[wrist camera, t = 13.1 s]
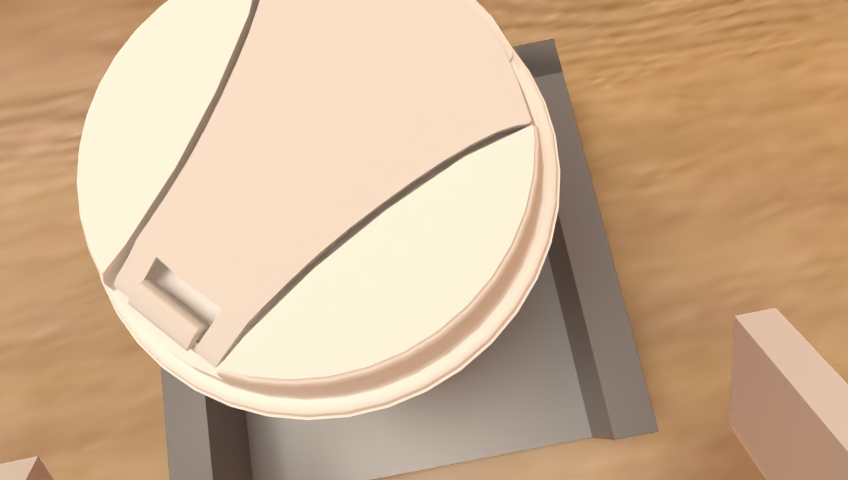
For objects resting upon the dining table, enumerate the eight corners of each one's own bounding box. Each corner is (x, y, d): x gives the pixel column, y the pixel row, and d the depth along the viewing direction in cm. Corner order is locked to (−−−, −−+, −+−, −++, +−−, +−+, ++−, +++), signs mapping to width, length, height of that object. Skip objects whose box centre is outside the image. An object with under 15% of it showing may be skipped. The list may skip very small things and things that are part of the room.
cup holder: (195, 171, 26) (141, 120, 22) (539, 103, 26) (553, 38, 22) (229, 505, 23) (173, 523, 19) (622, 430, 23) (658, 431, 18)
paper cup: (422, 471, 22) (346, 548, 8) (242, 330, 23) (-66, 204, 10) (559, 277, 23) (682, 73, 10) (380, 156, 25) (273, -165, 11)
